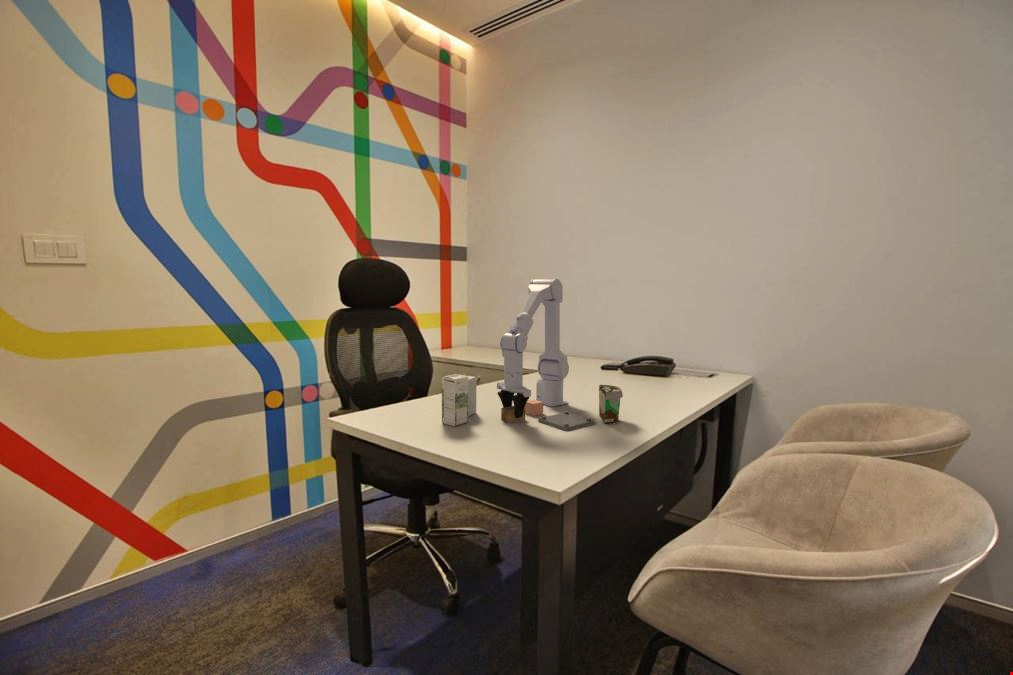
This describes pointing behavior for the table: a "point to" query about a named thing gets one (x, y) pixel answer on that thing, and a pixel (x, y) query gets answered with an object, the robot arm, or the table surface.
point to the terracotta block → (534, 407)
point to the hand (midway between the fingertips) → (513, 415)
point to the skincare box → (471, 395)
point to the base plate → (566, 421)
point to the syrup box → (454, 399)
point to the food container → (609, 403)
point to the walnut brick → (510, 415)
